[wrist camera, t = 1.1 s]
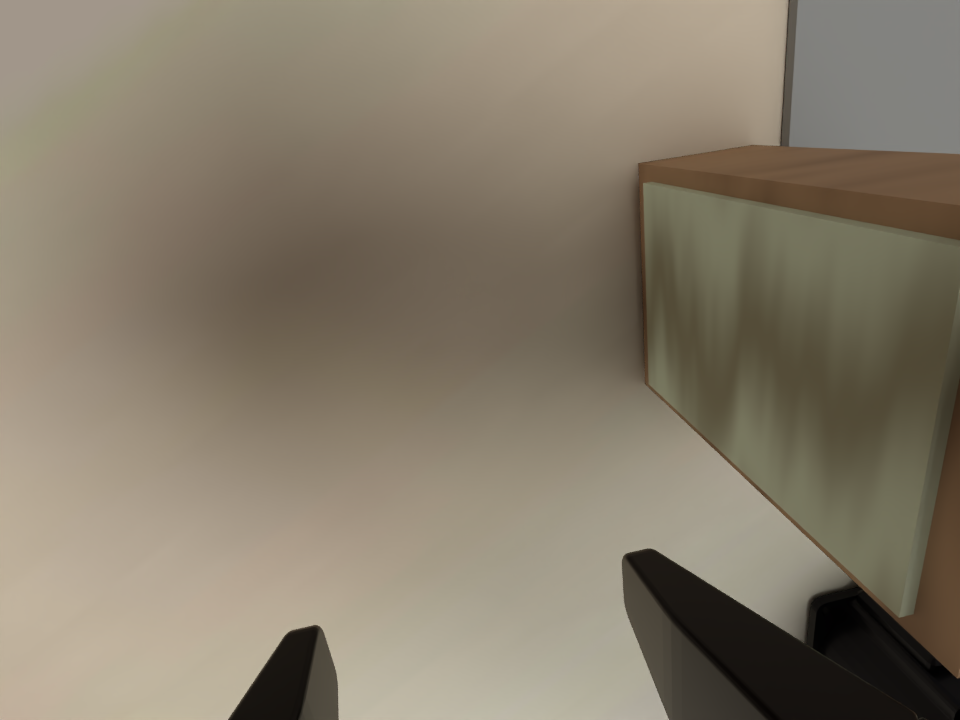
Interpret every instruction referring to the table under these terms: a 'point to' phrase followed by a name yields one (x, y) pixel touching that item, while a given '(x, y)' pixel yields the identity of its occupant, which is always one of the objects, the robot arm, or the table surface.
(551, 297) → the table surface
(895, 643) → the robot arm
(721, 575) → the table surface
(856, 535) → the brown green box
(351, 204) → the table surface
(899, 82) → the mat
